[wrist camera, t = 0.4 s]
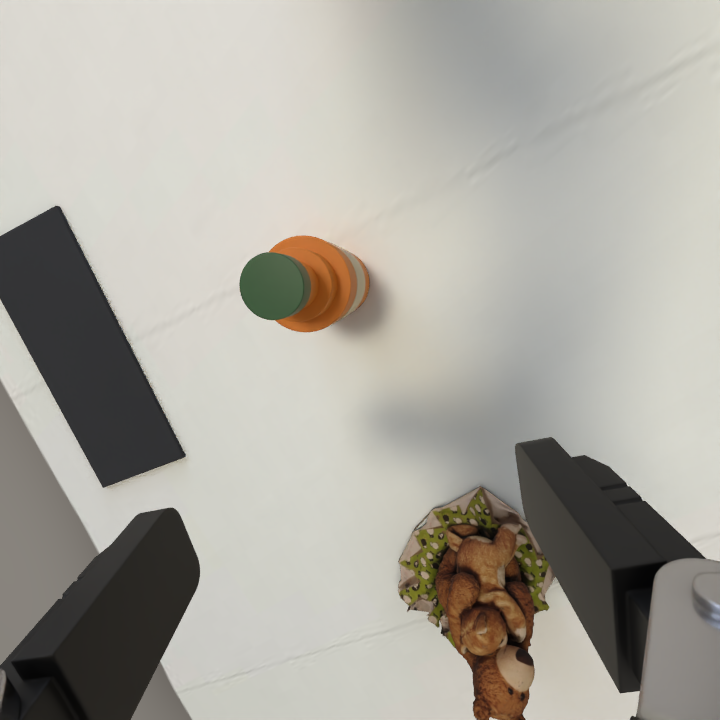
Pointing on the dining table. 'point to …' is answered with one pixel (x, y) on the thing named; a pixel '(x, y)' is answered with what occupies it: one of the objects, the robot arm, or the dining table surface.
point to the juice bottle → (304, 284)
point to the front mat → (82, 350)
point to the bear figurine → (481, 593)
